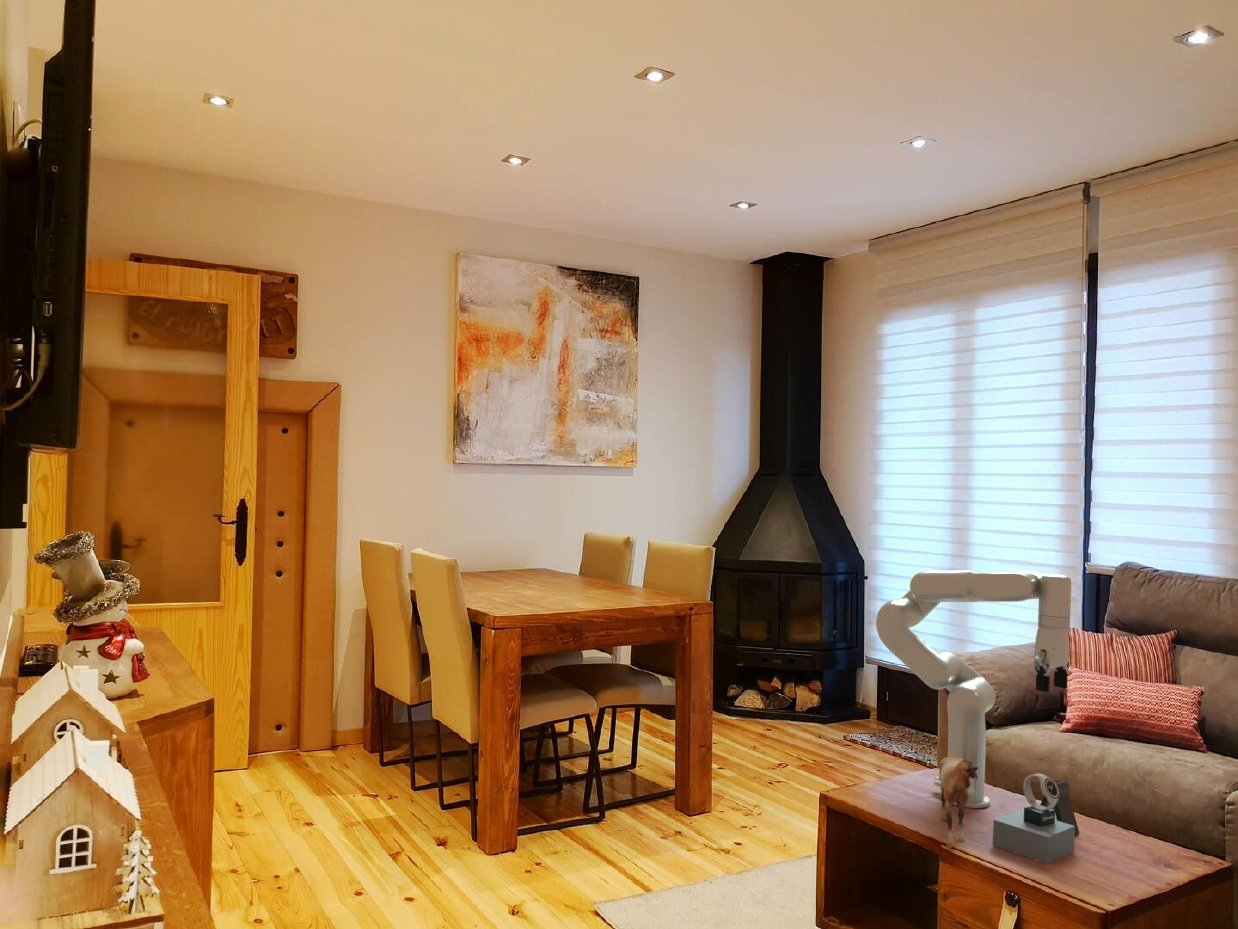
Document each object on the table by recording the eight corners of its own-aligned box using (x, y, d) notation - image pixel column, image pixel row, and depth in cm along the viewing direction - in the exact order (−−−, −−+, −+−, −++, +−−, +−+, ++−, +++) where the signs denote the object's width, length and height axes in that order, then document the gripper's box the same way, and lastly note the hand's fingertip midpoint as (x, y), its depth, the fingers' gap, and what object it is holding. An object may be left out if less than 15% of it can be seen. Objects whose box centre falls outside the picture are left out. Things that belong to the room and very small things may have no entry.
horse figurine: (975, 858, 213) (978, 766, 214) (939, 852, 215) (942, 762, 216) (968, 815, 243) (971, 734, 243) (936, 810, 245) (939, 731, 246)
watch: (1048, 829, 217) (1049, 781, 217) (1017, 818, 223) (1018, 771, 224) (1062, 826, 220) (1064, 778, 220) (1031, 815, 226) (1033, 769, 227)
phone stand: (1079, 834, 232) (1081, 785, 233) (1066, 838, 229) (1068, 788, 229) (1044, 822, 240) (1046, 775, 240) (1031, 826, 236) (1033, 778, 236)
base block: (992, 845, 221) (993, 819, 222) (1019, 834, 230) (1020, 809, 230) (1047, 864, 211) (1048, 837, 212) (1073, 852, 220) (1074, 826, 220)
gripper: (1055, 618, 252) (1052, 683, 251) (1023, 622, 240) (1020, 689, 240) (1083, 622, 246) (1081, 688, 245) (1052, 626, 235) (1050, 695, 234)
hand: (1051, 689), depth 243 cm, fingers open, 9 cm apart
